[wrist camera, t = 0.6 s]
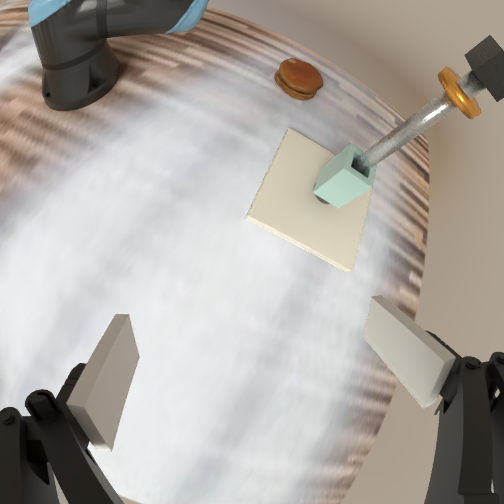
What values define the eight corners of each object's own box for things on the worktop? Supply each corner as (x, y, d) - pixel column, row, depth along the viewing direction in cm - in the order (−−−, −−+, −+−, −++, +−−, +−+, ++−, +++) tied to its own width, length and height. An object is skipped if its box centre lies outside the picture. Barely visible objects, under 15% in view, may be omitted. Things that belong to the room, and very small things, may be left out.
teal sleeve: (312, 192, 38) (343, 168, 30) (320, 169, 39) (350, 143, 32) (338, 208, 39) (372, 188, 31) (344, 184, 40) (376, 162, 33)
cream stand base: (245, 218, 39) (248, 215, 37) (285, 132, 44) (289, 127, 42) (346, 272, 42) (352, 271, 40) (368, 184, 47) (373, 181, 46)
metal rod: (302, 199, 40) (499, 45, 8) (311, 173, 42) (481, 25, 9) (330, 216, 41) (533, 95, 9) (338, 190, 43) (514, 67, 10)
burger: (307, 108, 47) (317, 93, 43) (265, 83, 46) (274, 67, 41) (321, 86, 50) (331, 72, 46) (284, 64, 49) (293, 49, 44)
